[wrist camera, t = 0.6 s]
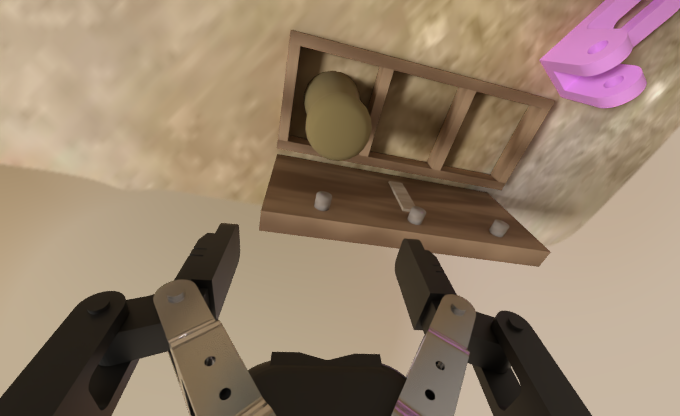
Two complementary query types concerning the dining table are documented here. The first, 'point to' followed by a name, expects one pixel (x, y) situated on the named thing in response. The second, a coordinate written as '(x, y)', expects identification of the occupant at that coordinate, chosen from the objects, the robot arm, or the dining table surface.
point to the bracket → (604, 54)
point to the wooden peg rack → (398, 192)
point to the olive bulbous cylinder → (336, 116)
